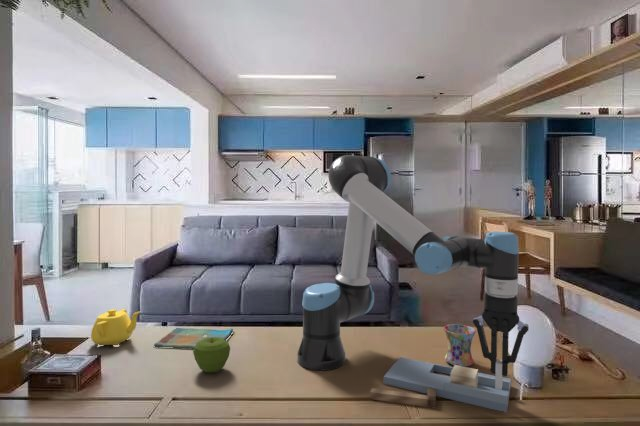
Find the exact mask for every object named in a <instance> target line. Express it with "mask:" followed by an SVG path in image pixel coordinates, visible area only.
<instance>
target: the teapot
mask: <svg viewBox="0 0 640 426" xmlns="http://www.w3.org/2000/svg"><path fill="white" fill-rule="evenodd" d="M140 313H142V311H136V312H134V313H133V314H132V316H131V318H130V316H129V314H128V313H127V309H125V308H122V309H120V310H118V311H117V309H114V308H113V309H108V310H107V312H103V313H102V314H100V315H98V317H97V318H96V320H95V322H94V323H93V326H92V328H91V334H90V339H91V341H92V342H93V343H94V344H95V345H98V344H99V345H104V346H105V345H106V346H107V345H112V346H113V345H118V344H120V345H121V343H123V342H126V341H125V340H127V339H129V338H131V336H132V335H133V332H134V330H135V329H136V327H137V317H138V315H139V314H140Z"/></svg>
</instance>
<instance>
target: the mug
mask: <svg viewBox="0 0 640 426" xmlns="http://www.w3.org/2000/svg"><path fill="white" fill-rule="evenodd" d="M443 331H444V332H445V336H446V340H447V351H446V354H445V355H444V360H445V361H446V362H447V363H448V364H449V365H451V366H454V365H457V366H463V367H471V366H472V365H474V363H475V361H474V358H473V356H472V342H473V339H474V337H475V334H476V332H477V330H476V328H473V327H471V326H468V325H464V324H460V323H459V324H455V323H453V324H452V323H451V324H447V325H444V327H443Z"/></svg>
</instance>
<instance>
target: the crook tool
mask: <svg viewBox="0 0 640 426" xmlns="http://www.w3.org/2000/svg"><path fill="white" fill-rule="evenodd" d="M436 397H437V396H436V395H435V389H432V388H427V394H418V393H411V392H404V391H395V390H387V389H380V388H379V389H378V388H371V390H370V400H375V401H381V402H388V403H398V404H402V405H403V404H406V405H411V404H412V405H411V406H419V407H425V408H433V407H435V408H437V407H436V405H437V404H436V403H437V402H436V399H437V398H436Z"/></svg>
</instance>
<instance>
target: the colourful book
mask: <svg viewBox="0 0 640 426" xmlns="http://www.w3.org/2000/svg"><path fill="white" fill-rule="evenodd" d="M175 328H176V329H175ZM175 328H174V329H173V330H172V331H171V332H168V334H166V335H165V336H163V337H162V338H161V339H159V341H157V342H155V343H154V344H153V347H154V346H155V347H173V348H192V349H191V350H194V347H195V345H196V343H198V342H199V341H201V340H202V339H204V338H208V337H220V338H223V339H224V340H226V339H227V338H228V337H229V336H230V335H231V333H232V332H234V329H233V328H228V329H212V328H191V327H187V328H185V327H182V328H181V327H175ZM187 334H188V335H187ZM204 335H207V337H203V336H204Z"/></svg>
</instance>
